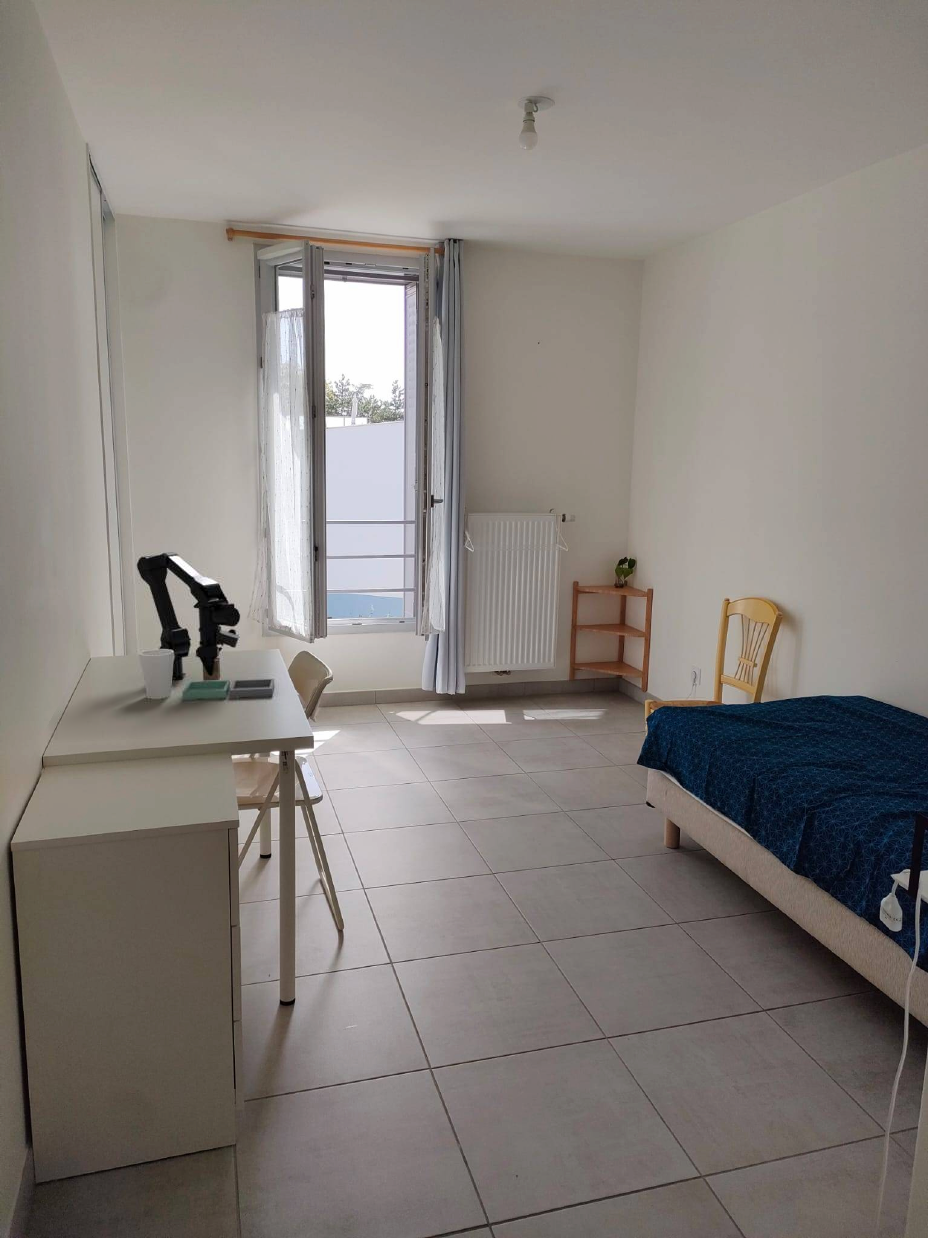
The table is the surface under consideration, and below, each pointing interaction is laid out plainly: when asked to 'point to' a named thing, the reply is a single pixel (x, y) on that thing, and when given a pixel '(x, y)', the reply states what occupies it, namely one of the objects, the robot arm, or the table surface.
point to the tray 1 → (206, 690)
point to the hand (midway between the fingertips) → (211, 673)
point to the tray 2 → (252, 688)
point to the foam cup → (157, 672)
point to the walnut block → (215, 671)
